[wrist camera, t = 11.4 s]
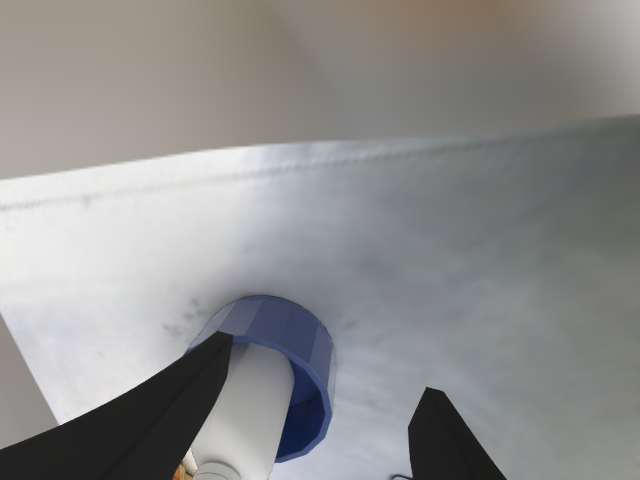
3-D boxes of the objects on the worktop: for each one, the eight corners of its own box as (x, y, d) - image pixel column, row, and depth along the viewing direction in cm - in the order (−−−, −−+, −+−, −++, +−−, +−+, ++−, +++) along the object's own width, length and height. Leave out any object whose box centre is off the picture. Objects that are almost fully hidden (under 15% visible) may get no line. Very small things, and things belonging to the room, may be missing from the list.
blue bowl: (319, 418, 26) (310, 479, 21) (200, 385, 26) (167, 438, 21) (351, 316, 22) (350, 364, 17) (212, 279, 22) (176, 316, 18)
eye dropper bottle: (243, 385, 25) (146, 598, 13) (235, 326, 23) (116, 516, 11) (296, 389, 24) (242, 615, 13) (293, 329, 22) (227, 531, 11)
